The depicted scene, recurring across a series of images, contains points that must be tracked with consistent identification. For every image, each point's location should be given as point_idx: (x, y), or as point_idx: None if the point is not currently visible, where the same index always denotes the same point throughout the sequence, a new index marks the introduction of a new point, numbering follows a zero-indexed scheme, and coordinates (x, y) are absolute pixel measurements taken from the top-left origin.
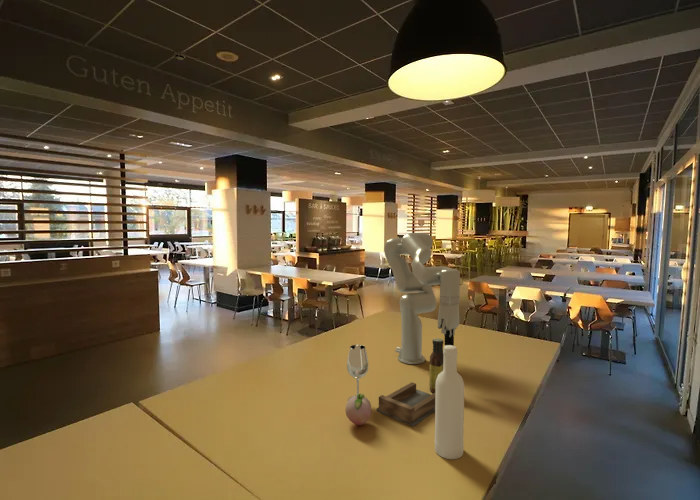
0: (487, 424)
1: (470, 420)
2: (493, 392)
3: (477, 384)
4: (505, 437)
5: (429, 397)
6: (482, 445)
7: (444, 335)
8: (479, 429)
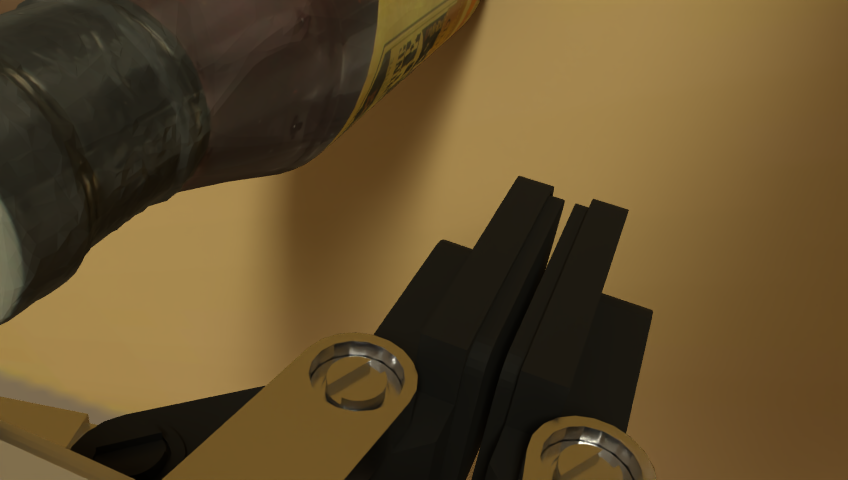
0: (181, 344)
1: (155, 263)
2: (653, 410)
3: (795, 296)
4: (138, 406)
5: (12, 8)
6: (16, 317)
7: (322, 350)
8: (112, 307)
